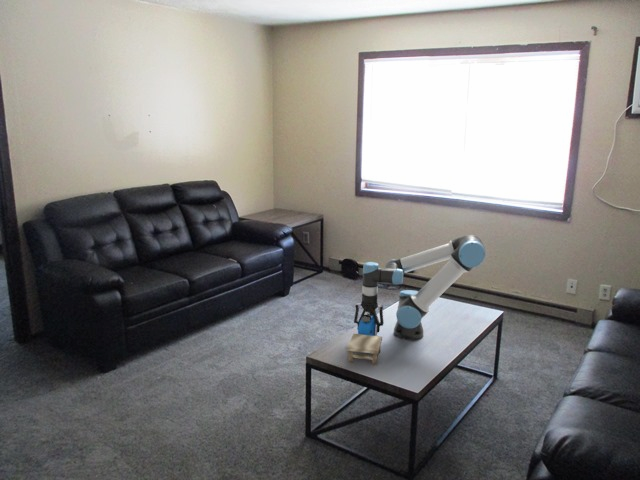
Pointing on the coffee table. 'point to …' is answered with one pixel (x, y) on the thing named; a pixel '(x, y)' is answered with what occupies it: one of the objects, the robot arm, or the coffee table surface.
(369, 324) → the alarm clock
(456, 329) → the coffee table surface
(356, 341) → the stool
